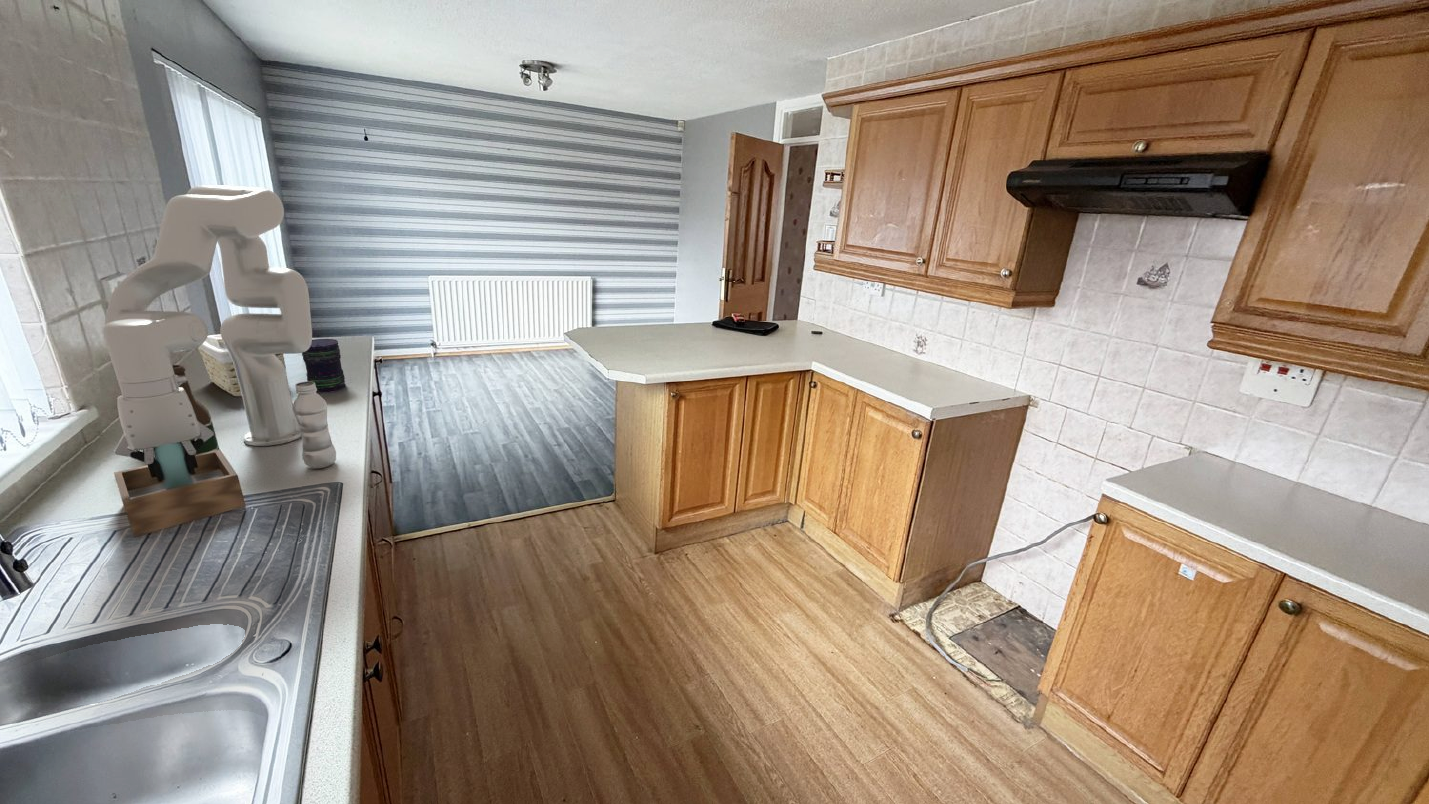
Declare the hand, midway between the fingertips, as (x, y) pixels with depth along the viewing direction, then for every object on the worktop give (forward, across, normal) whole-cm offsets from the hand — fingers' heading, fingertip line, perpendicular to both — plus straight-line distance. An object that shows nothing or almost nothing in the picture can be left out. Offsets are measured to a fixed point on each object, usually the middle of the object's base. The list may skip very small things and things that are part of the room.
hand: (175, 474), depth 110 cm
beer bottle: (+7, -5, -17) cm, 19 cm away
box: (+7, 0, 0) cm, 7 cm away
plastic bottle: (+7, -24, -2) cm, 25 cm away
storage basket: (+7, -26, -78) cm, 82 cm away
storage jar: (+7, -42, -60) cm, 74 cm away
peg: (+2, 0, 0) cm, 2 cm away
